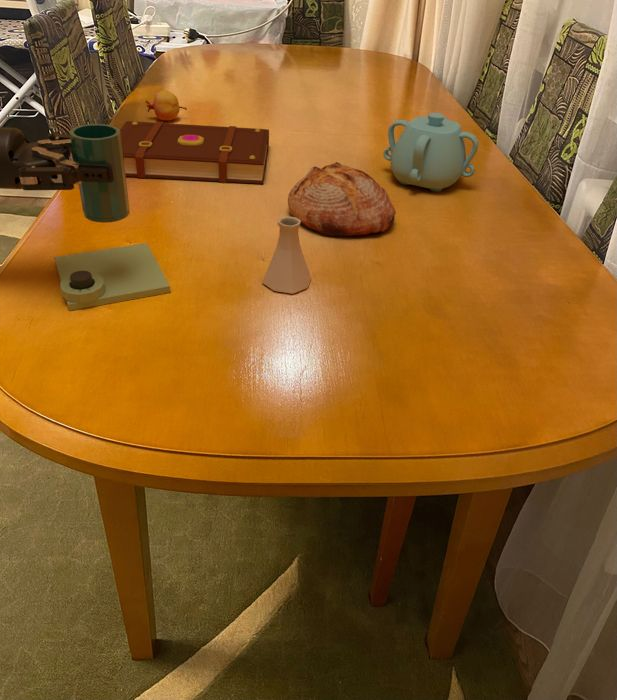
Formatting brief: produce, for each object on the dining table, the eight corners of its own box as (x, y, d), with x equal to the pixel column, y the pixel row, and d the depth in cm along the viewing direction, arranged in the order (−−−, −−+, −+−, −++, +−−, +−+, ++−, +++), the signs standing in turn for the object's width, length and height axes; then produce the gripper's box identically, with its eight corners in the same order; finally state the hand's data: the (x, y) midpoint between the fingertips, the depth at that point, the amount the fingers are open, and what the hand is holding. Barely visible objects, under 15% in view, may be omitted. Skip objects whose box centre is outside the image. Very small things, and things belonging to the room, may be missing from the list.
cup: (109, 226, 79) (96, 142, 73) (74, 215, 81) (59, 132, 75) (138, 210, 84) (130, 130, 77) (105, 200, 86) (93, 120, 79)
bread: (292, 200, 118) (295, 148, 112) (394, 211, 116) (401, 158, 111) (279, 233, 104) (281, 175, 99) (393, 245, 103) (401, 187, 97)
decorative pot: (376, 167, 132) (384, 102, 124) (444, 165, 136) (456, 101, 127) (401, 197, 120) (412, 128, 112) (476, 194, 123) (491, 126, 115)
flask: (279, 265, 95) (281, 206, 89) (319, 279, 93) (324, 218, 87) (253, 284, 90) (253, 223, 84) (294, 300, 88) (298, 237, 82)
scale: (66, 313, 82) (63, 297, 80) (53, 263, 92) (49, 248, 90) (171, 293, 87) (170, 278, 86) (147, 248, 97) (146, 234, 96)
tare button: (73, 292, 82) (71, 282, 81) (70, 282, 84) (68, 272, 83) (94, 288, 83) (93, 278, 82) (91, 278, 85) (89, 269, 84)
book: (263, 185, 121) (263, 160, 118) (103, 176, 119) (99, 151, 116) (268, 146, 139) (269, 124, 136) (130, 138, 137) (127, 116, 134)
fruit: (186, 91, 150) (144, 89, 149) (186, 91, 144) (142, 89, 142) (187, 120, 153) (146, 119, 151) (187, 122, 147) (144, 120, 145)
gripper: (9, 165, 85) (131, 170, 86) (-30, 209, 74) (111, 214, 75) (-4, 110, 80) (125, 116, 82) (-48, 148, 69) (102, 154, 70)
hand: (118, 163), depth 78 cm, fingers closed on cup, 6 cm apart
